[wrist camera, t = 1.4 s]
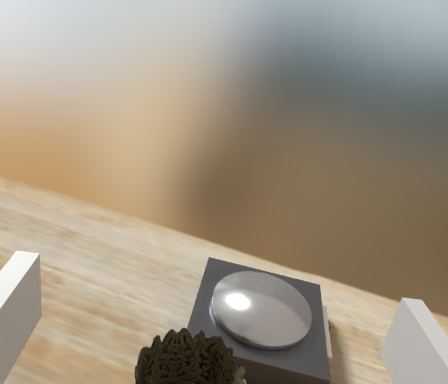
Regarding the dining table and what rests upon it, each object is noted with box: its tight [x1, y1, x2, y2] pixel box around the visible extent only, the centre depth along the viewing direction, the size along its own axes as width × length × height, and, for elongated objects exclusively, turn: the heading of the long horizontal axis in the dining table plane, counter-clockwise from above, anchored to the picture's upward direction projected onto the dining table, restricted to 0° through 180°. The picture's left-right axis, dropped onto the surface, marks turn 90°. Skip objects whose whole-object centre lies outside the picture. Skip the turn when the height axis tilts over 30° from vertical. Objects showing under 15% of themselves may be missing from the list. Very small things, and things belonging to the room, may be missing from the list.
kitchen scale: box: [187, 257, 332, 384], centre depth 41 cm, size 14×13×4 cm
